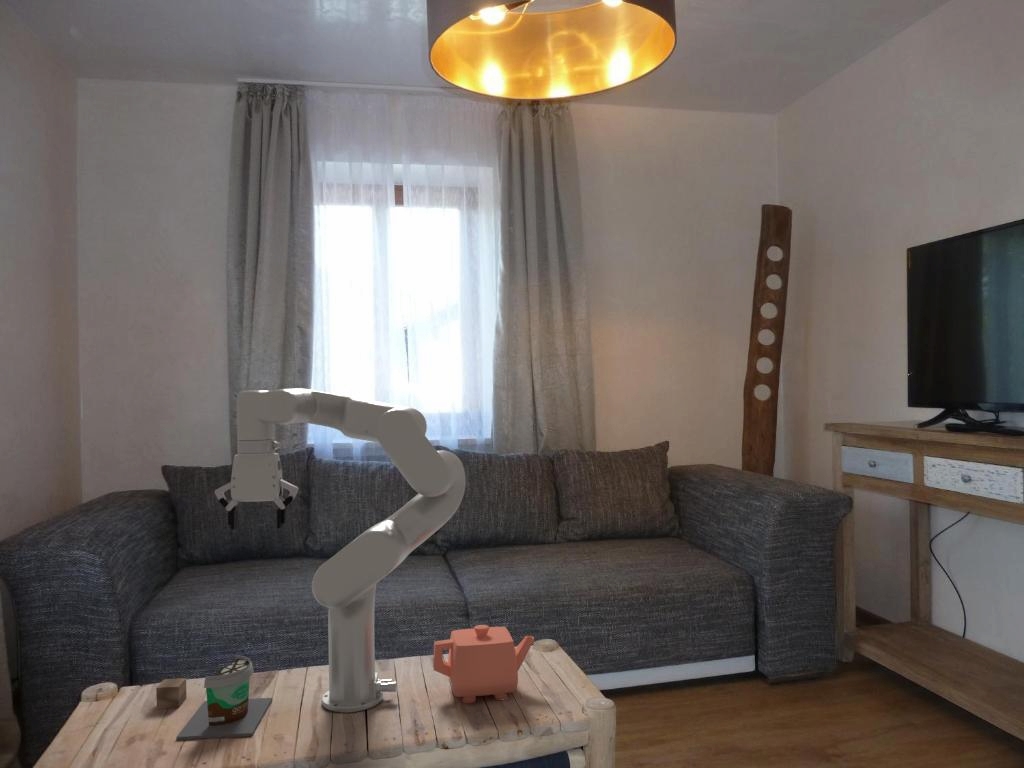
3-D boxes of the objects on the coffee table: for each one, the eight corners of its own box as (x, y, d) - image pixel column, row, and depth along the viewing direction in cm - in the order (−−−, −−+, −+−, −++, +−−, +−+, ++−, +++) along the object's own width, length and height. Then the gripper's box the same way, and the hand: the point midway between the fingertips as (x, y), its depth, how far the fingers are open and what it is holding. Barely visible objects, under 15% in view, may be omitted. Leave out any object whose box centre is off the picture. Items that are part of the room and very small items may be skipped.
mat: (272, 700, 158) (272, 697, 158) (252, 736, 142) (252, 732, 142) (204, 703, 157) (204, 701, 157) (176, 740, 141) (176, 736, 141)
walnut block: (186, 699, 160) (186, 678, 160) (179, 708, 155) (178, 686, 155) (164, 700, 159) (164, 679, 159) (156, 709, 155) (156, 687, 155)
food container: (234, 730, 143) (233, 678, 143) (204, 729, 144) (203, 677, 144) (265, 703, 155) (264, 655, 155) (237, 701, 156) (237, 654, 156)
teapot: (529, 676, 169) (528, 613, 169) (541, 699, 156) (540, 631, 156) (431, 684, 165) (430, 620, 165) (436, 709, 152) (435, 640, 152)
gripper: (300, 445, 164) (302, 523, 164) (219, 447, 163) (221, 525, 163) (293, 448, 157) (295, 530, 157) (208, 450, 155) (210, 532, 155)
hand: (257, 527), depth 160 cm, fingers open, 9 cm apart
